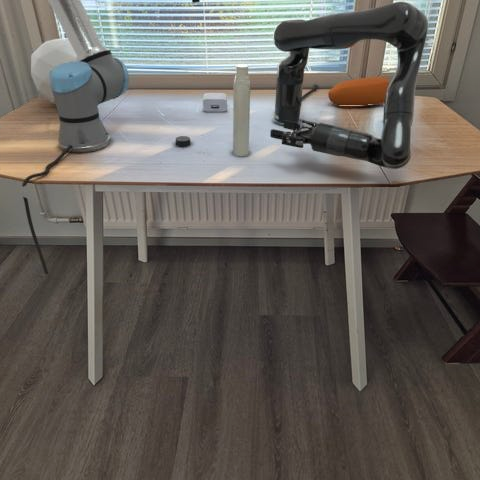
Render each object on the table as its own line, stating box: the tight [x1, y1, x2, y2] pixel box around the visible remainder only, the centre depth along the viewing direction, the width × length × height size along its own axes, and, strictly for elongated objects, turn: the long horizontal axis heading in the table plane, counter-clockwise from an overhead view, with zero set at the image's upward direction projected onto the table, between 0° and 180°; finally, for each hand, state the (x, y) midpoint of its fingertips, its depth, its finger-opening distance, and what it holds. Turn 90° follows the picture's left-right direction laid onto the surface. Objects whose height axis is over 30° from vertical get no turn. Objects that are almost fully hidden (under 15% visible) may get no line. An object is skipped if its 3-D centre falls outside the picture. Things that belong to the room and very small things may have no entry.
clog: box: [327, 76, 390, 109], centre depth 165 cm, size 12×11×25 cm
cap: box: [175, 135, 191, 148], centre depth 130 cm, size 5×5×2 cm
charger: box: [202, 92, 228, 113], centre depth 163 cm, size 5×9×15 cm
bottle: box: [232, 64, 251, 157], centre depth 117 cm, size 5×5×25 cm
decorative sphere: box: [30, 37, 77, 105], centre depth 157 cm, size 24×25×25 cm
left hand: (173, 1), depth 108 cm, fingers open, 13 cm apart
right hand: (277, 128), depth 114 cm, fingers open, 8 cm apart
